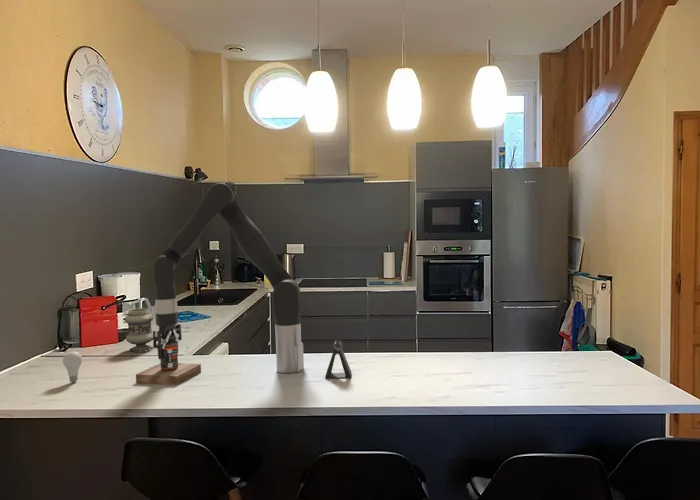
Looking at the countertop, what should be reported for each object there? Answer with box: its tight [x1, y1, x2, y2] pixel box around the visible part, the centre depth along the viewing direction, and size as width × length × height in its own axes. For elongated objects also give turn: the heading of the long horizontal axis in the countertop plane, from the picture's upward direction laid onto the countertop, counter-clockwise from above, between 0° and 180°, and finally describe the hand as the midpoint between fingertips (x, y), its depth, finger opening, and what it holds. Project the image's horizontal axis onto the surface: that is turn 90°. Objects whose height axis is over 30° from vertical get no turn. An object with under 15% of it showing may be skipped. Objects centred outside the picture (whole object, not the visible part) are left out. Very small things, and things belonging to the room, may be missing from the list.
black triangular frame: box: [324, 339, 352, 380], centre depth 190 cm, size 9×6×12 cm, turn 88°
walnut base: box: [135, 362, 202, 386], centre depth 195 cm, size 16×16×3 cm
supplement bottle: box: [160, 337, 179, 370], centre depth 195 cm, size 6×6×11 cm
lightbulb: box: [62, 351, 83, 384], centre depth 192 cm, size 6×6×11 cm
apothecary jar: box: [124, 307, 154, 353], centre depth 241 cm, size 12×12×18 cm
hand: (168, 356), depth 195 cm, fingers open, 8 cm apart
